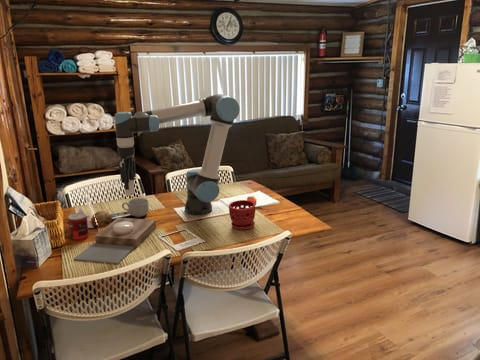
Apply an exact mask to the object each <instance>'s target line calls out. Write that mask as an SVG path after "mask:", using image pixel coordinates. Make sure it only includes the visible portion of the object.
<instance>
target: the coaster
mask: <svg viewBox="0 0 480 360" xmlns="http://www.w3.org/2000/svg"><path fill="white" fill-rule="evenodd" d="M113 230H114V233H116V234H127V233H130V232H132V231H133V230H134V227H133V223H132V222H119V223H116V224H114V225H113Z"/></svg>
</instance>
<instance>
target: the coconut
mask: <svg viewBox="0 0 480 360" xmlns="http://www.w3.org/2000/svg"><path fill="white" fill-rule="evenodd" d="M94 215H95V217H94ZM95 218H96V220H97V223H98V225H99V226H97V225H96V222H95ZM112 222H113V217H112V215H111V214H110V213H109V212H108V211H104V210H103V211H102V210H101V211H96V212H95V213H94V214H93V215H92V217H90V223H91V224H92V225H93V227H107V226H108V225H109V224H111V223H112Z"/></svg>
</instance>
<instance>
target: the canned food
mask: <svg viewBox="0 0 480 360" xmlns="http://www.w3.org/2000/svg"><path fill="white" fill-rule="evenodd" d="M70 214H71V215H70ZM70 214H69V215H68V216H67V219H68V220H67V221H68V226H69V232H70V233H69V234H70V238H71V240H73V241H75V242H76V241H77V242H78V241H79V242H80V241H84V240H86V239H88V238H89V237H90V236H89V235H90V234H89V227H88V224H87V216H88V215H87V214H86V213H85V212H84V213H78V212H76V213H70Z"/></svg>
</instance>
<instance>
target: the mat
mask: <svg viewBox="0 0 480 360" xmlns="http://www.w3.org/2000/svg"><path fill="white" fill-rule="evenodd" d="M134 249H135V247H134V246H122V245H110V244H99V243H96V242H93V243H91V244H90V245H89V246H88V247H86V248H85V249H83V251H81V252H80V253H79V254H77V255H76V256H75V257H74V258H73V260H74V261H79V262H80V261H81V262H89V261H90V262H91V263H100V262H106V263H105V264H110V263H113V264H112V265H119V264H120V263H121V262H122V261H123V260H124V259H126V257H127V256H128V255H129V254H130V253H131V252H132V251H134Z"/></svg>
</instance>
